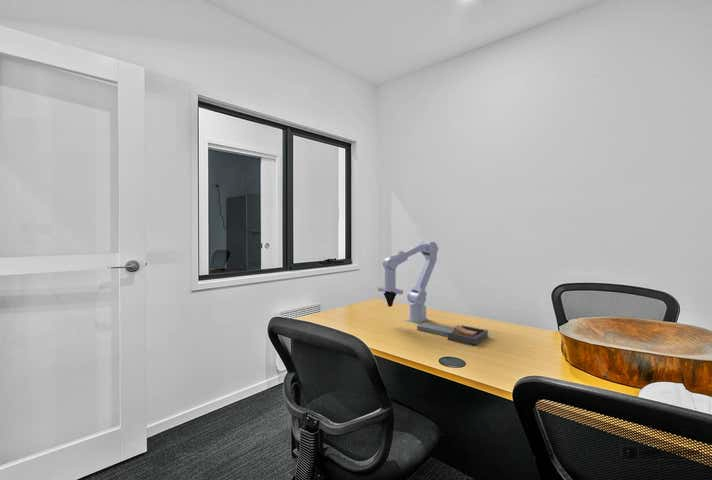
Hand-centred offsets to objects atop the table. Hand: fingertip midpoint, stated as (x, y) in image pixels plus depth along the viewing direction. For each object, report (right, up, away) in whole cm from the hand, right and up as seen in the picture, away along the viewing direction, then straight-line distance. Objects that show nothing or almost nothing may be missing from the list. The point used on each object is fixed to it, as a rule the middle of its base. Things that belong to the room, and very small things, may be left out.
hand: (390, 306), depth 173 cm
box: (+33, -10, -23) cm, 41 cm away
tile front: (+34, -10, -23) cm, 42 cm away
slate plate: (+22, -10, -13) cm, 27 cm away
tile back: (+30, -9, -20) cm, 37 cm away
